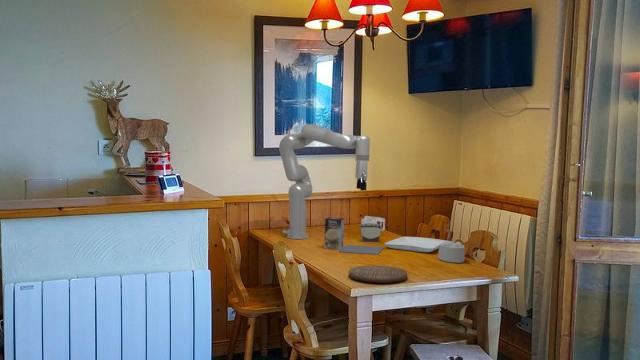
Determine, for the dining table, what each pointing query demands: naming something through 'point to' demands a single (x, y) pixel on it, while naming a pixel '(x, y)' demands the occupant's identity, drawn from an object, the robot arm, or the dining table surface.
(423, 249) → the square plate
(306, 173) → the robot arm
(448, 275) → the dining table surface
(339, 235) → the coffee box
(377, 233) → the food container
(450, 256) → the lumpy-topped squat cylinder
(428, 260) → the dining table surface
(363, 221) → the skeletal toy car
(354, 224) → the dining table surface
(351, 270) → the trivet
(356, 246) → the mat
